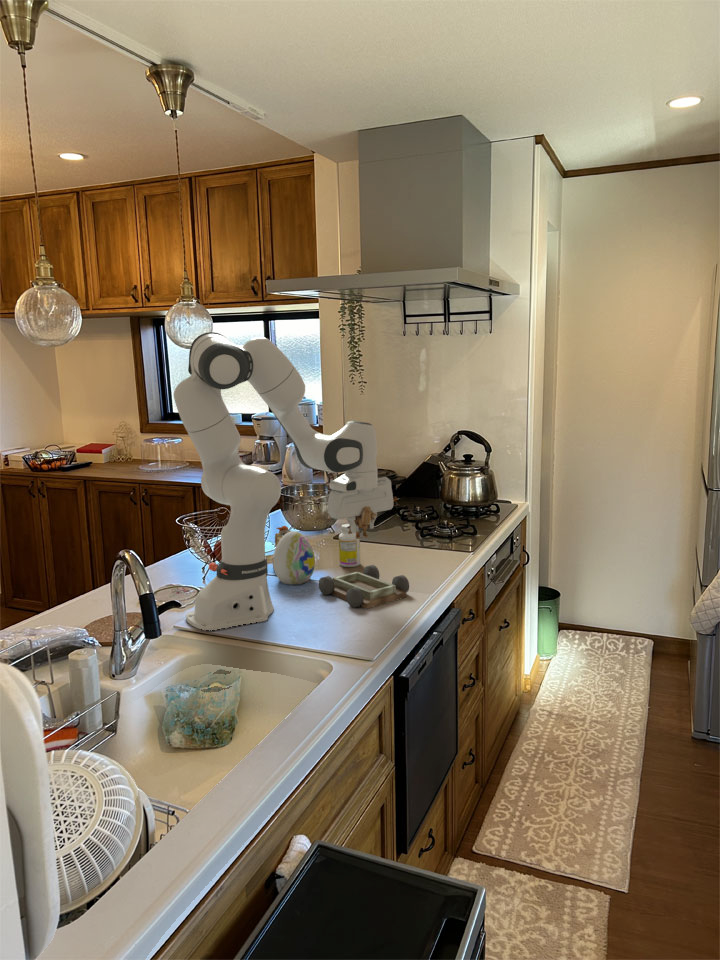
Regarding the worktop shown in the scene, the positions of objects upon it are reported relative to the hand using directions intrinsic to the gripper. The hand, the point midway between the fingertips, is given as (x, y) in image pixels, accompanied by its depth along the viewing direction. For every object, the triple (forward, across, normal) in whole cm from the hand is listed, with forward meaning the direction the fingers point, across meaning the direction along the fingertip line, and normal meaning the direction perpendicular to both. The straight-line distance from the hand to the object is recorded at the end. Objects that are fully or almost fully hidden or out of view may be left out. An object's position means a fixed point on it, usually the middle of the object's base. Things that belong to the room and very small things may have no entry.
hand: (362, 530), depth 198 cm
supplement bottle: (+18, -14, -25) cm, 34 cm away
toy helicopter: (+19, +2, -39) cm, 43 cm away
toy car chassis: (+18, 0, 0) cm, 18 cm away
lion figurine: (+2, -1, -3) cm, 4 cm away
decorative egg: (+18, +8, -23) cm, 31 cm away
